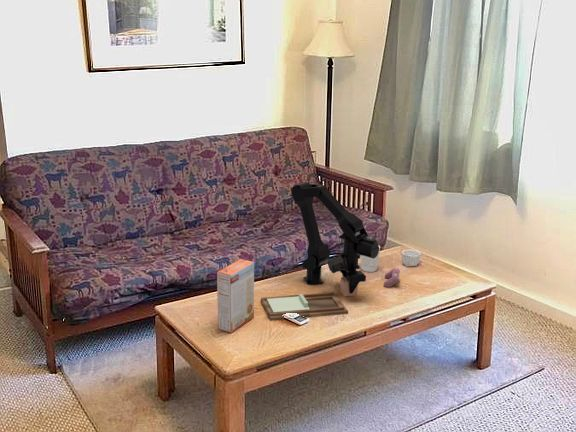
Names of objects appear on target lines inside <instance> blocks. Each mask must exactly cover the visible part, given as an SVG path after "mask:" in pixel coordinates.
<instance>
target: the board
mask: <svg viewBox="0 0 576 432" xmlns="http://www.w3.org/2000/svg"><path fill="white" fill-rule="evenodd" d="M302 294H303V293H302ZM297 296H299V294H293V295H292V294H291V295H281V296H280V295H279V296H268V297H267V296H266V297H261V298H260V302H261V304H262V306H263V308H264V310H265V312H266V315H267V316H268V318H269V321H280V320H281V319H282V320H285V319H284V316H282V315H283V314H286V313H297V314H299V315H301V316H304V317H305V318H314V317H315V318H316V317H326V316H336V315H337V316H339V315H348V314H349V311H348V309H347V308H346V306H345V305H344V303H343V302H342V301H341V300H340V298H339V297H338V296H337V294H336V293H335V292H333V291H330V292H316V293H305V294H303V296H304V297H305V299H306V300H307V302H308V307H309V309H310V310H298V311H286V312H274V313H273V312H272V310H271V308H270V306H269V304H268V302H267V299H271V298H284V297H297Z"/></svg>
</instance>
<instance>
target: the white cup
mask: <svg viewBox="0 0 576 432" xmlns="http://www.w3.org/2000/svg"><path fill="white" fill-rule="evenodd" d="M380 251H381V246H380V245H379V253H378V255H377V257H376V258H374V259H373V258H370V257H366V256H363V255H360V271H362V272H363V271H364V272H368V273H373V272H377V271H378V266H379V260H380V253H381V252H380Z"/></svg>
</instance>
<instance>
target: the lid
mask: <svg viewBox="0 0 576 432" xmlns="http://www.w3.org/2000/svg"><path fill="white" fill-rule="evenodd" d="M298 295H299V296H297V297H284V298H271V299H267V302H268V304H269V306H270V308H271V310H272V312H273V313H274V312H286V311H298V310H310V309H309V307H308V302H307V300H306V299H305V297H304V296H303V293H299V294H298Z"/></svg>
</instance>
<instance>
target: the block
mask: <svg viewBox="0 0 576 432" xmlns="http://www.w3.org/2000/svg"><path fill="white" fill-rule="evenodd" d="M339 286H340V290H339V291H340V293H341V294H342V295H343V297H348V296H350V297H351V296H358V287H359V284H358V285H357V287H356V288H355V290H354V292H353V293H349V283H348V281H347V279H346V278H345V277H343V276H342V277H340V285H339Z"/></svg>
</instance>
